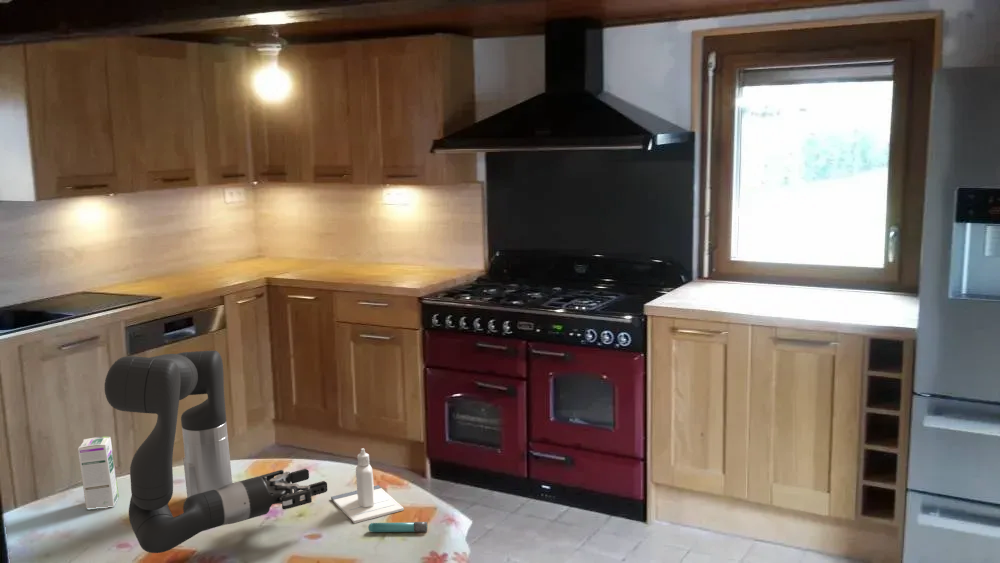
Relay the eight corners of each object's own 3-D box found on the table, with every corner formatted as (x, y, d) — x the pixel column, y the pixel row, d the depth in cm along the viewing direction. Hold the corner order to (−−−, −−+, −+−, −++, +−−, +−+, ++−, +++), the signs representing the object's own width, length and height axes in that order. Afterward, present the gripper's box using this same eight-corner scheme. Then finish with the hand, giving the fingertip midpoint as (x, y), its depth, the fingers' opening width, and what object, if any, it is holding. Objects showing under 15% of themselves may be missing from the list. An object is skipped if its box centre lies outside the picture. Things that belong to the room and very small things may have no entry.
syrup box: (114, 507, 192) (107, 443, 190) (85, 511, 191) (77, 447, 188) (119, 497, 198) (111, 435, 195) (90, 500, 196) (82, 438, 194)
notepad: (354, 523, 181) (354, 520, 180) (331, 499, 193) (330, 496, 192) (403, 510, 186) (403, 507, 186) (378, 487, 198) (378, 485, 198)
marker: (367, 533, 176) (367, 524, 175) (369, 529, 177) (369, 520, 177) (426, 533, 175) (426, 524, 175) (428, 529, 177) (427, 520, 176)
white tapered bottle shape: (380, 497, 191) (376, 444, 189) (371, 508, 186) (368, 454, 184) (361, 496, 192) (357, 443, 190) (352, 507, 187) (348, 453, 185)
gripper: (253, 494, 167) (332, 472, 176) (225, 472, 178) (301, 452, 187) (256, 531, 168) (334, 508, 178) (228, 507, 179) (303, 486, 189)
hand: (317, 479), depth 182 cm, fingers open, 8 cm apart
